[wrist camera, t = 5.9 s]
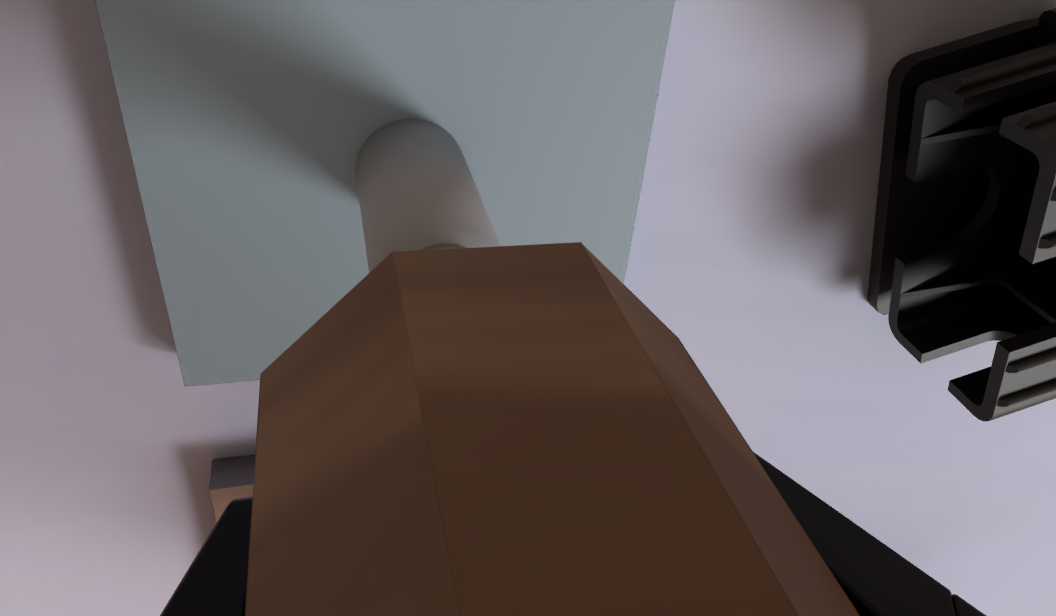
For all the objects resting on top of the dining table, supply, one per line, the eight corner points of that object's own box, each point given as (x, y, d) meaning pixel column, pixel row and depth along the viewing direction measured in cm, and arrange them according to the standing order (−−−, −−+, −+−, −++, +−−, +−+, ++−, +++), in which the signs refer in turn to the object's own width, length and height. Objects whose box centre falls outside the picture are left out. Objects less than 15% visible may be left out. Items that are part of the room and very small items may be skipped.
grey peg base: (599, 324, 24) (689, 494, 18) (189, 358, 21) (151, 570, 16) (670, -106, 17) (846, -40, 12) (79, -143, 14) (-58, -78, 9)
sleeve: (633, 522, 14) (831, 976, 9) (291, 572, 13) (285, 1151, 7) (701, 235, 11) (1093, 698, 5) (243, 259, 9) (165, 923, 4)
